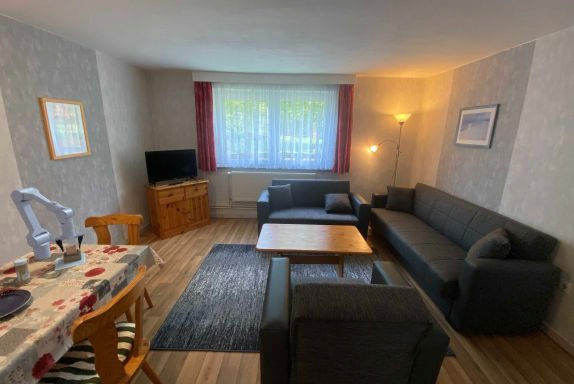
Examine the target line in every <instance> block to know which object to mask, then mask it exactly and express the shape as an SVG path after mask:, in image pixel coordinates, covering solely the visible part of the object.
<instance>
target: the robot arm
mask: <svg viewBox="0 0 574 384" xmlns="http://www.w3.org/2000/svg"><path fill="white" fill-rule="evenodd" d="M10 198H11V200H12V202H13V204H14V205H15V207H16V209H17V212H18V213H19V214H20V217H21V219H22V221H23V223H24V224H25V226H26V228H27V230H28V234H27V235H26V236H25V239H26V243H27V245H28V246H29V247H31V248H32V250H33V251H32V252H33V255H34V260H36V261H40V260H46V259H49V258H51V256H52V252H51V247H50V243H51V240H52V242H53V243H55V244H56V246H58V247H59V249H60V250H61V252H62V253H64V252H65V248H64V246H63V241H64V240H70V239H75V238H77V242H78V249H80V250H81V247H82V242H83V239H84V237H86V234H85V232H78V233H76V231H75V224H74V217H75V214H76V213H75V209H73V208H71V207H65V206H63V205H62V204H60V203H59V202H58V201H51V200H50V199H48V198H47V197H45V196H44V195H43V194H41V193H40V190H39V189H37V188H36V187H34V186H30V187H25V188H21V189H13V190H12V191H11V193H10ZM33 201H35V202H36V203H39V204H41V205H42V206H44V207H45V209H46V210H47V211H49V212H51V213H52V214H54V215H55V216H56V218H57V219H58V222H59V224H60V227H61V235H59V236H56V237H52V234H51V233H49V231H48V229H46V228H42V226H41V224H40V223H39V221H38V219H37V216H36V214H35V213H34V211H33V209H32V207H31V205H30V204H31V202H33Z"/></svg>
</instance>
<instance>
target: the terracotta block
mask: <svg viewBox="0 0 574 384" xmlns="http://www.w3.org/2000/svg"><path fill="white" fill-rule="evenodd" d="M77 249H78V248H77V244H76V243H73V244H69V245H66V246H65V250H66V251H65V252H66V253H67V255H71V254H76V253H77Z"/></svg>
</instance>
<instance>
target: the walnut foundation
mask: <svg viewBox="0 0 574 384" xmlns="http://www.w3.org/2000/svg"><path fill="white" fill-rule="evenodd" d="M81 253H82V250H81V249H79V248H77V253H76V254H71V255H67V253H66V251H64V252H63V254H62V257H63V259H64V263H69V262H73V261H78V260H82V257H81Z"/></svg>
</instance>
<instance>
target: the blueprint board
mask: <svg viewBox="0 0 574 384" xmlns="http://www.w3.org/2000/svg"><path fill="white" fill-rule="evenodd" d="M81 257H82V260H78V261H73V262H69V263H64V259H63V256H62V257H58V258H55V263H54V271H59V270H64V269H69V268H72V267H76V266H82V265H84V264H85V265H86V264H87V258H86V257H87V256H86V252H81Z"/></svg>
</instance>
